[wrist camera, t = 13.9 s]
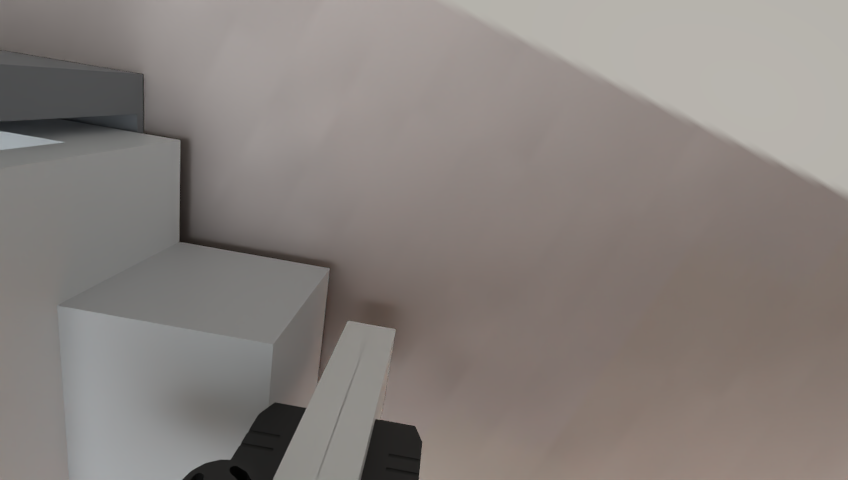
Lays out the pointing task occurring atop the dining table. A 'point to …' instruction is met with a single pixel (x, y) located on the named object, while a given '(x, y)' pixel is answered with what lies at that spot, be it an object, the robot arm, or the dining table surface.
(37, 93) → the housing
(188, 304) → the drawer
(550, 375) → the dining table surface
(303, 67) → the dining table surface
